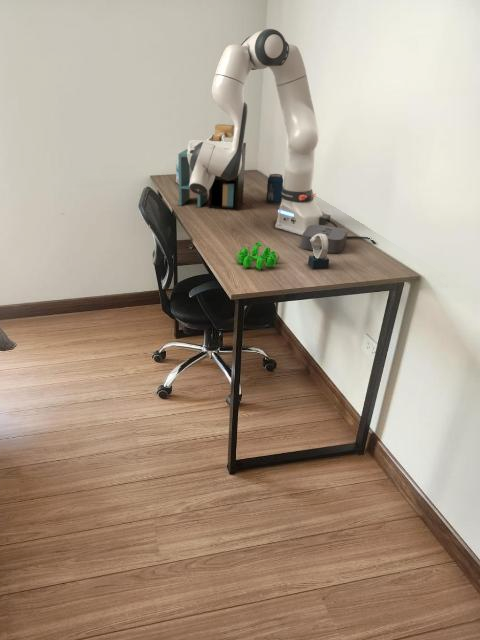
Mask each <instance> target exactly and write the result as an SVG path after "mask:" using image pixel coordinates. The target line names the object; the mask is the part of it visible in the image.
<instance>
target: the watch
mask: <svg viewBox="0 0 480 640" xmlns="http://www.w3.org/2000/svg"><path fill="white" fill-rule="evenodd" d="M310 242H312V247H313V250H312V251H313V255H309V256H308V262H307V265H308V266H309V267H310V269H311V270H323V269H329V264H330V258H329V257H328V256H327V255H328V253H329V252H328V238H327V235H326V234H322V233H320V234H316V235H314V236H313V237H312V238H311V239H310ZM321 246H322V250H321V251H320V247H321Z"/></svg>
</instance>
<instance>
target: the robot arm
mask: <svg viewBox="0 0 480 640" xmlns="http://www.w3.org/2000/svg"><path fill="white" fill-rule="evenodd" d="M267 68H268V69H270V70H271V72H272V73H273V76H274V80H275V81H274V82H275V85H276V86H275V87H276V92H277V95H278V100H279V105H280V109H281V112H282V113H281V114H282V118H283V122H284V127H285V131H286V149H285V164H284V165H285V166H284V177H283V188H282V196H281V197H282V199H281V202H280V205H279V208H278V210H277V213H278V214H277V219H276V222H275V224H274V228H276V229H280V230H282V231H286V232H290V233H292V234H296V235H300V236H303V233H304V231H305V230H306V229H307V228H308V227H309V226H310V225H321V226H328V224H332V225H333V227H337V228H339V227H338V225H337V224H336V223H335V222H333V221H332V220H331V214H325V213H324V214H323V211H322V210H321V209H320V207H318V205H317V203H316V202H315V201H314V197H316V195H317V193H316V192H315V193H314V191H313V188H312V186H313V181H314V180H313V178H314V172H315V171H314V170H315V154H316V148H317V146H318V144H319V142H320V132H319V128H318V123H317V117H316V113H315V109H314V105H313V100H312V96H311V90H310V86H309V80H308V76H307V71H306V66H305V63H304V59H303V57H302V53H301V51H300V49H299V48H298V46H297V45H294V44H290V43H288V42H287V41H286V39H285V36H284V35H283V34H282V33H281V32H280V31H279V30H277V29H274V28H266V29H263V30H259V31H257V32H255V33H254V34H252V35H249V36H248V37H246V38H245V40H244V41H243V42H242V43H241V44H238V43H232V44H229V45H227V46H226V47H225V49H224V50H223V53H222V54H221V57H220V59H219V61H218V64H217V67H216V70H215V72H214V77H213V80H212V84H211V85H212V86H211V96H212V98H213V101H214V102H215V104H216V105H217V106H218V108H220V109H221V110H222V111H224V112H225V113H226V115H228V116H229V118H231V120H232V122H233V125H234V136H233V137H232V141H225V138H224V135H220V141H213V136H214V135H215V134H211V135H210V136H209V137H208V138H206V140H203V139H191V140H189V141H188V144H187V149H188V151H187V158H188V162H189V165H190V168H191V170H192V175H191V178H190V184H189V188H190V192H192V193H194V194H196V195H198V194H199V195H205V194H207V193H208V194H209V190H210V188H211V186H212V184H213V182H214V179H215V175H216V176H219V177H220V178H223V179H225V180H227V181H230V180H233V179H235V178H236V177H238V175H239V173H240V170H241V166H242V148H243V143H245V142H244V141H245V135H246V127H247V118H248V104H247V103H246V102H245V97H244V90H245V86H246V83H247V79H248V76H249V74H250V73H251V71H256V70H264V69H267ZM368 237H369V236H357V235H352V236H351V235H350V236H349V235H347V238H346V239H358V240H359V239H361V240H369V239H370V238H371V237H369V238H368ZM370 241H371V243H372V244H374V245H376V240H374V239H373V240H370Z"/></svg>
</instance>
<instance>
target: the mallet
mask: <svg viewBox="0 0 480 640" xmlns="http://www.w3.org/2000/svg"><path fill="white" fill-rule="evenodd" d="M234 129H235V125H234V124H222V123H217V124H215V125H214V134H213V135H214V136H213V141H220V135H224V139H225V138H226V139H227V138H228V139H231V138H233V136H234Z"/></svg>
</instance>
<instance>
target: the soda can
mask: <svg viewBox="0 0 480 640" xmlns="http://www.w3.org/2000/svg"><path fill="white" fill-rule="evenodd" d="M283 187H284V177H283V174H280V173H271V174H269V176H268V178H267V185H266V197H265V199H266V201H267V202H266V203H267V204H270V205H278V204H281V202H282V197H281V196H282V188H283Z"/></svg>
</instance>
